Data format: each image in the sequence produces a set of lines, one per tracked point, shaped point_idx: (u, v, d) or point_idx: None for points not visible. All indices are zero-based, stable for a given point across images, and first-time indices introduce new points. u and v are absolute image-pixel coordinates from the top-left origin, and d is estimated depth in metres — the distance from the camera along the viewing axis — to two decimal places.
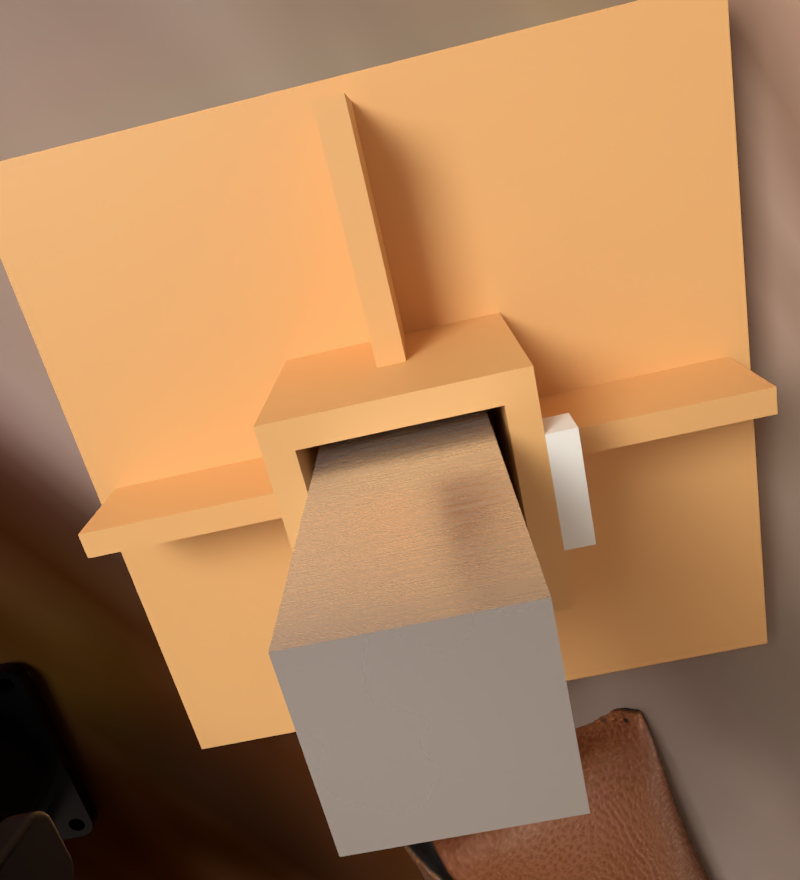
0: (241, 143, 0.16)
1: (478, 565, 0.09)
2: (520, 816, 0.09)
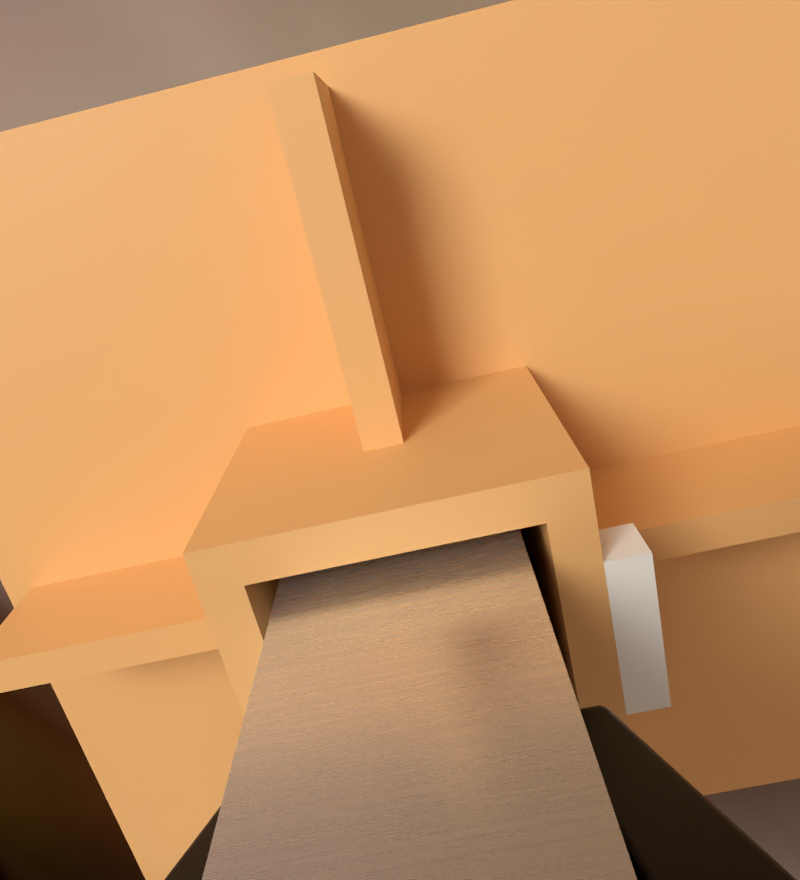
0: (180, 144, 0.12)
1: None
2: None
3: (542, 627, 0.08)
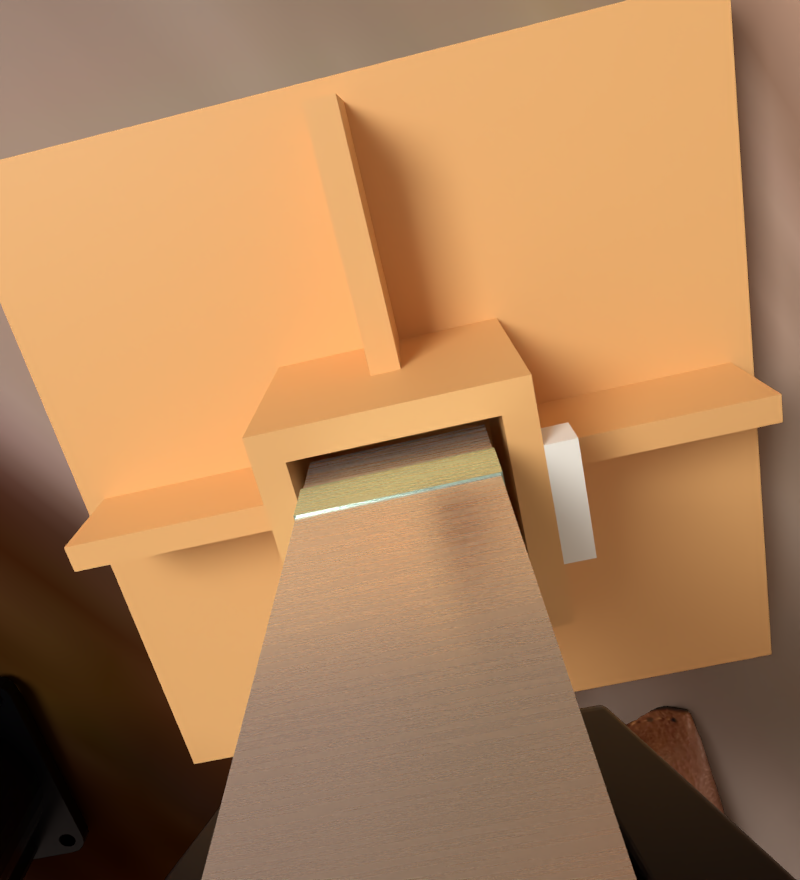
0: (231, 145, 0.15)
1: None
2: None
3: (542, 627, 0.08)
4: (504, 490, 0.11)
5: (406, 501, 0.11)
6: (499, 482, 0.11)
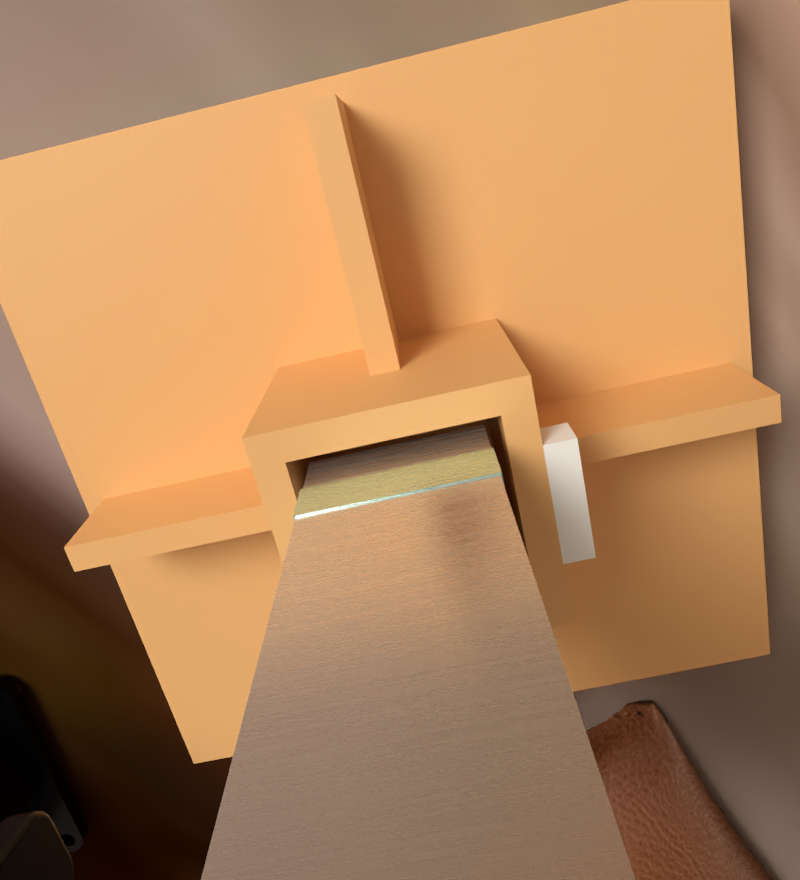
0: (230, 145, 0.15)
1: None
2: None
3: (541, 626, 0.08)
4: (503, 490, 0.11)
5: (405, 500, 0.11)
6: (498, 482, 0.11)
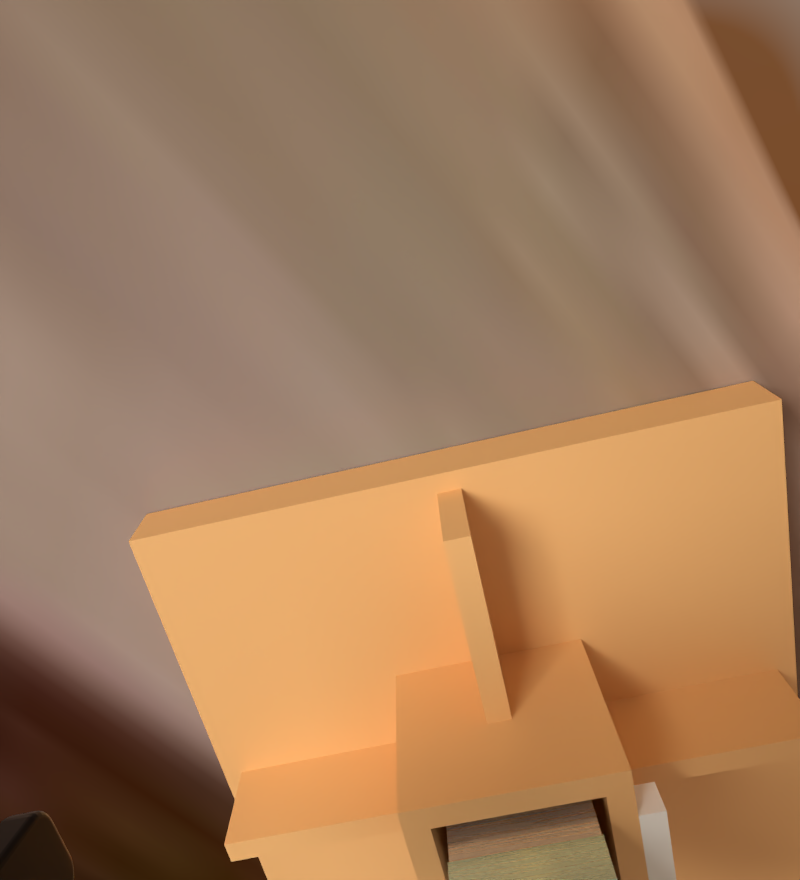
0: (366, 519, 0.19)
1: None
2: None
3: None
4: None
5: None
6: None
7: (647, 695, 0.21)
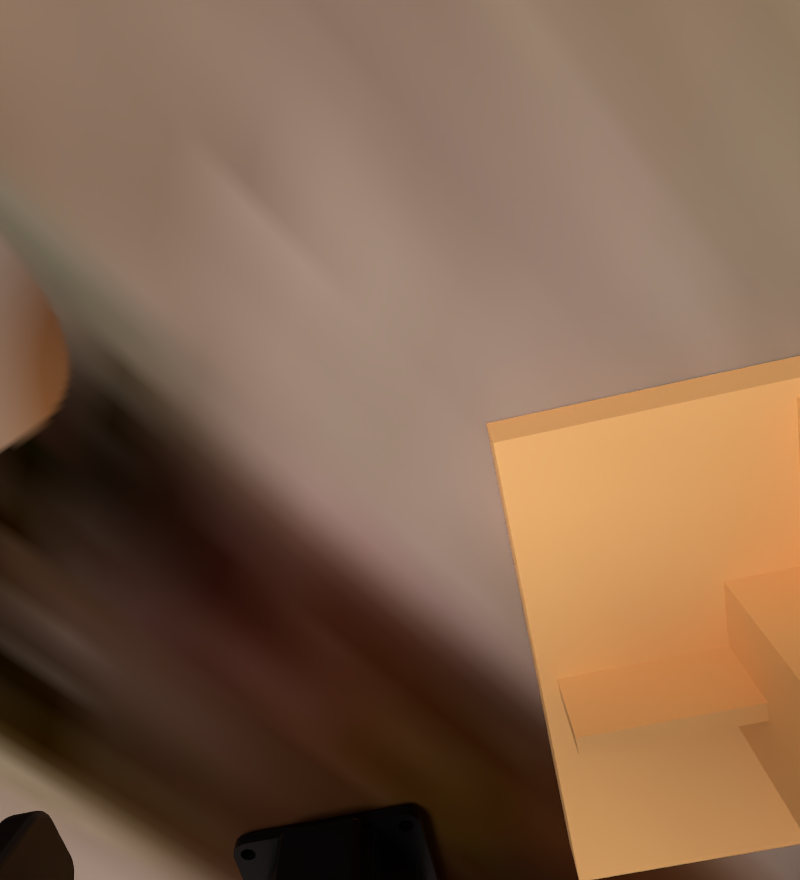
0: (724, 422, 0.19)
1: None
2: None
3: None
4: None
5: None
6: None
7: None
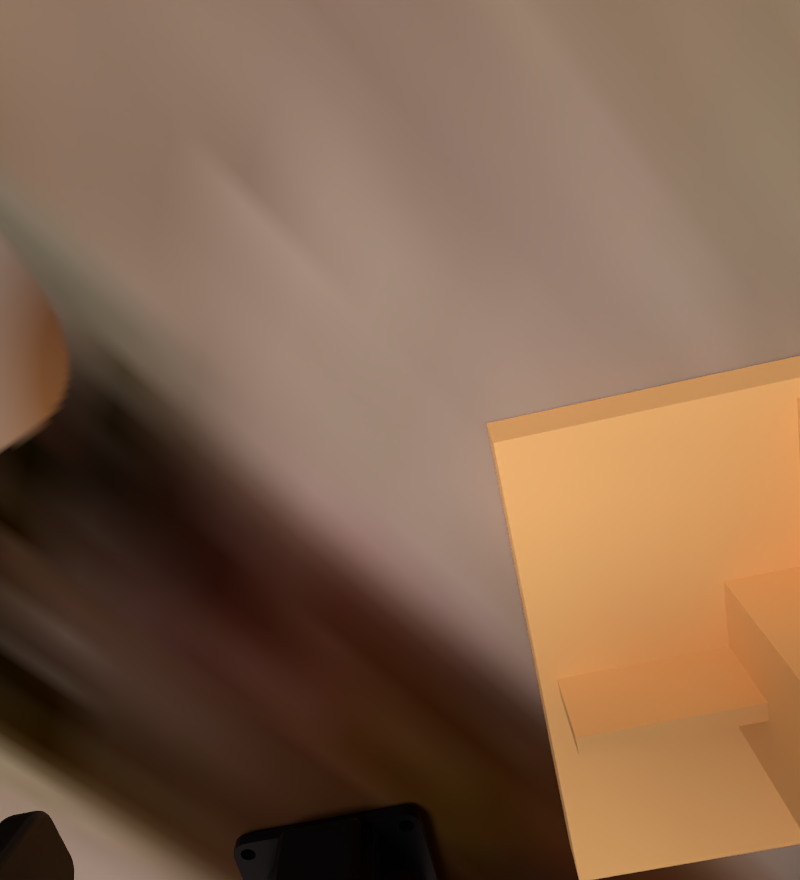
0: (724, 422, 0.19)
1: None
2: None
3: None
4: None
5: None
6: None
7: None
